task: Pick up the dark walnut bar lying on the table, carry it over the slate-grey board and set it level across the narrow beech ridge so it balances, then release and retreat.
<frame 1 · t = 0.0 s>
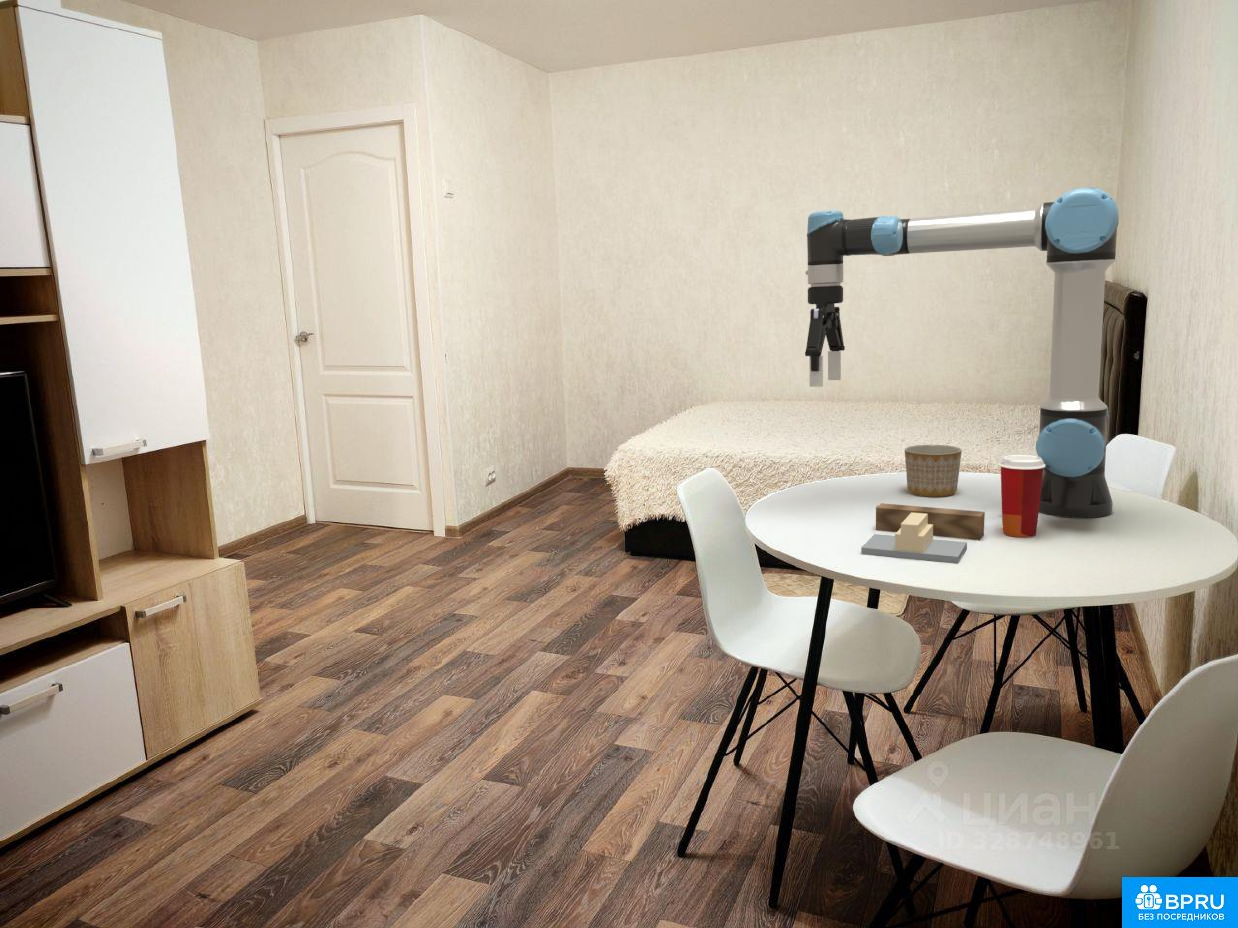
hand: (825, 383, 199), 28 cm above the table, fingers open, 13 cm apart
bar: (928, 533, 179), on the table
planter: (932, 493, 213), on the table
fulcrum: (914, 551, 167), on the table
coffee cup: (1018, 534, 176), on the table
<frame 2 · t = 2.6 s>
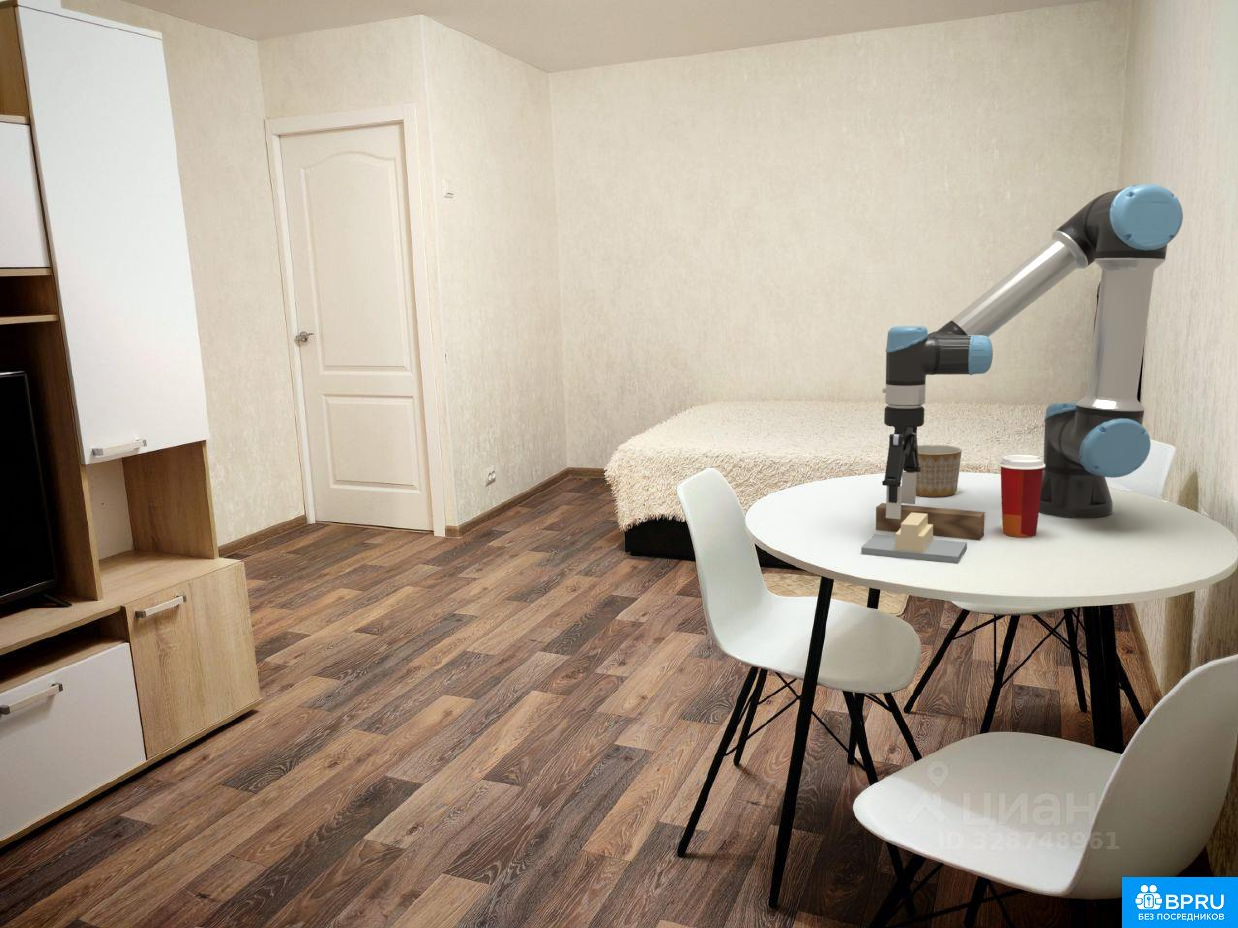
hand: (900, 510, 181), 4 cm above the table, fingers open, 13 cm apart
nothing on the table moved.
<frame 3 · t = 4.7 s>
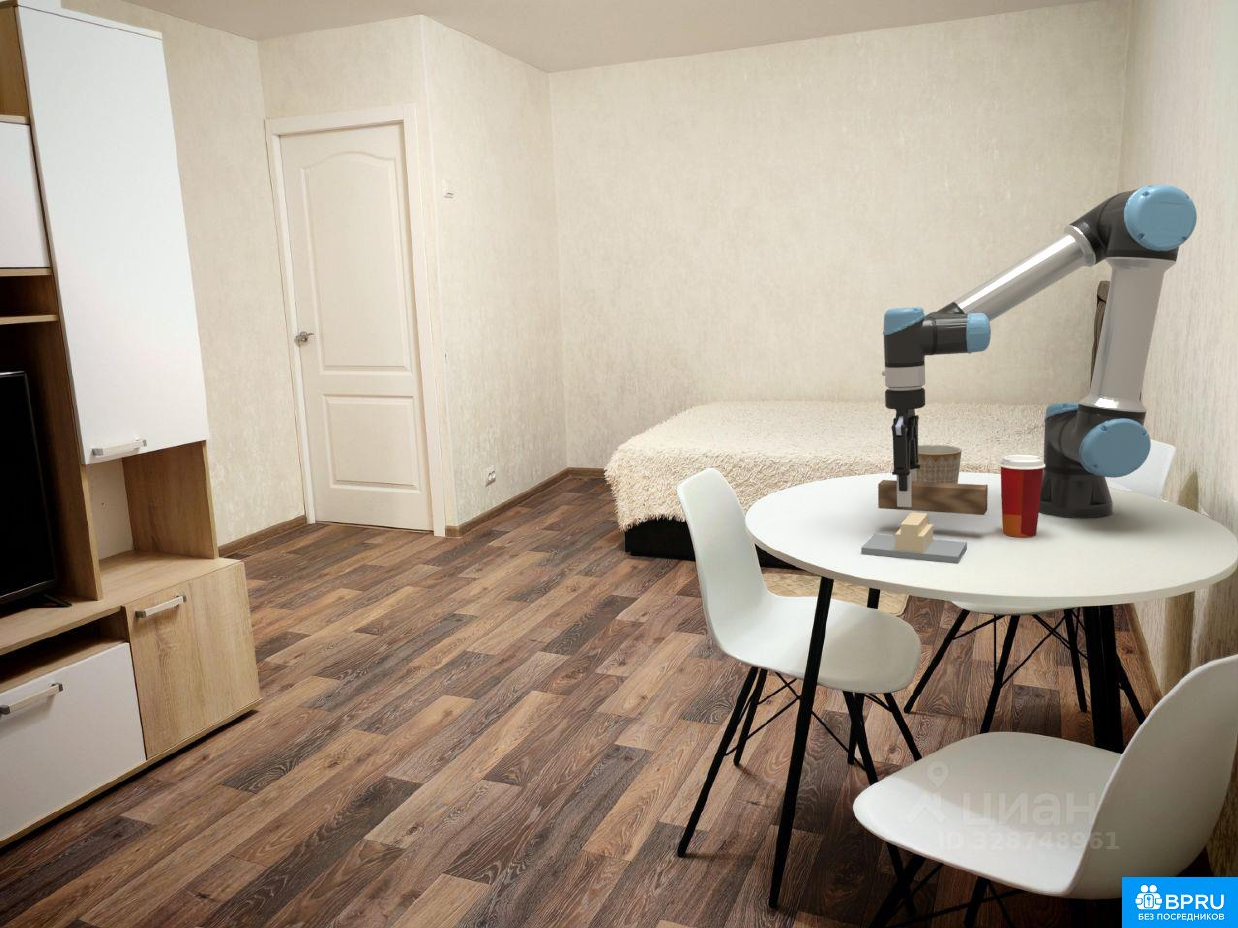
hand: (907, 503, 181), 6 cm above the table, fingers closed on bar, 4 cm apart
bar: (931, 509, 178), point 5 cm above the table, touching gripper
everything else where it was.
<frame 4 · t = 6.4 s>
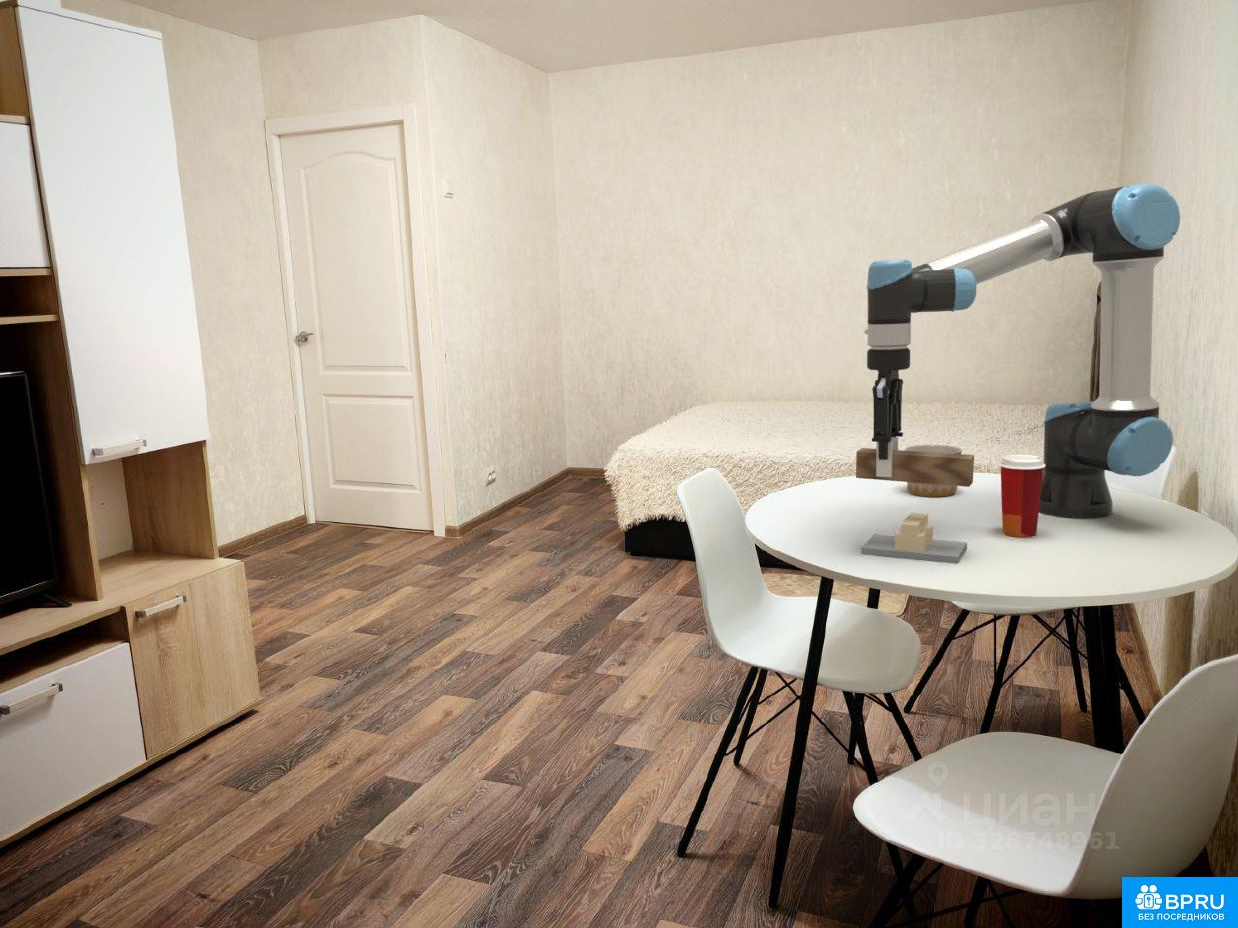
hand: (887, 473, 167), 14 cm above the table, fingers closed on bar, 4 cm apart
bar: (913, 480, 165), point 13 cm above the table, touching gripper
everything else where it was.
when the fingers open (5 cm above the table, at t = 8.3 s): bar stays where it is, resting on fulcrum.
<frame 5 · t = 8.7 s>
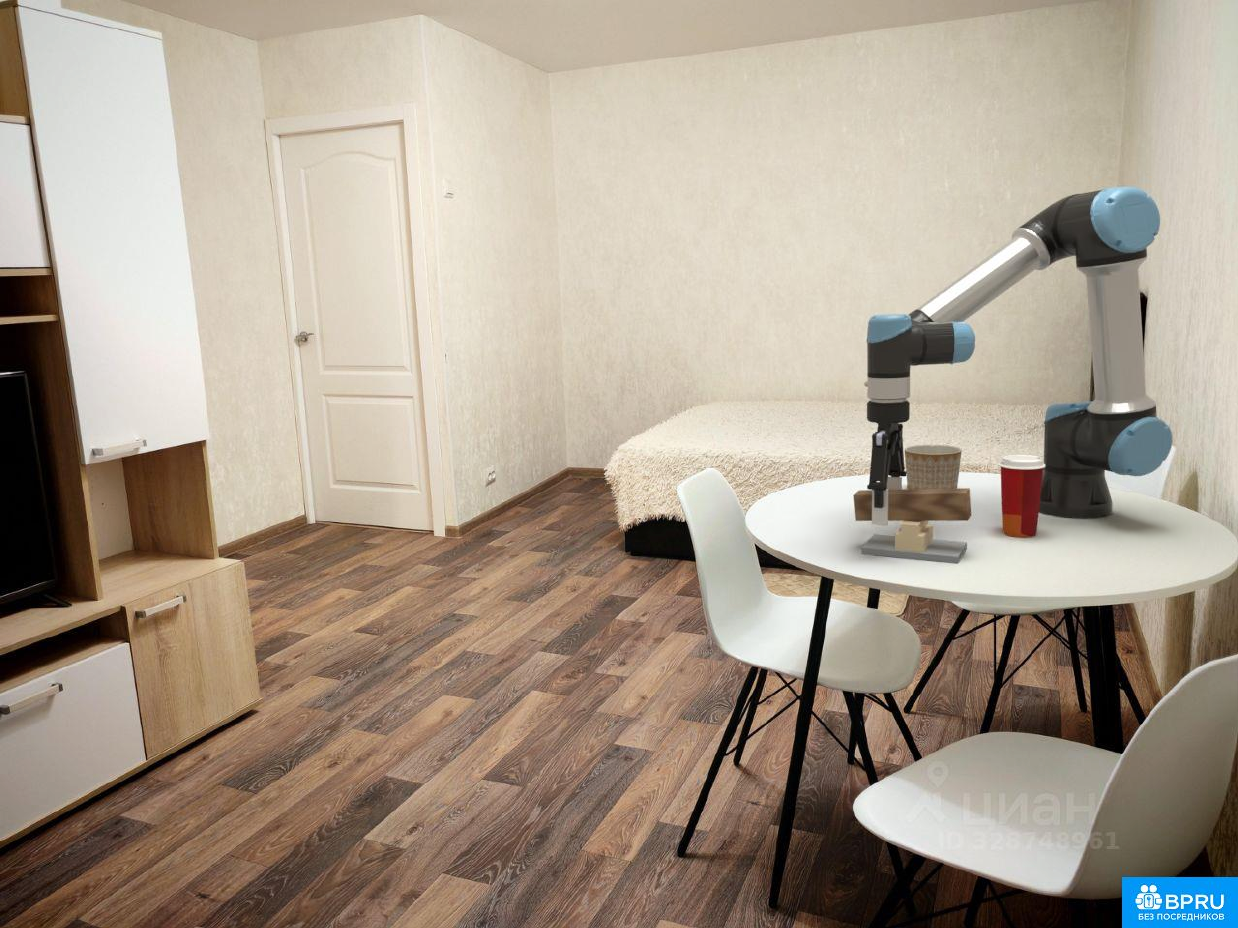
hand: (887, 517, 169), 6 cm above the table, fingers open, 10 cm apart
bar: (912, 518, 166), point 6 cm above the table, touching fulcrum
everything else where it was.
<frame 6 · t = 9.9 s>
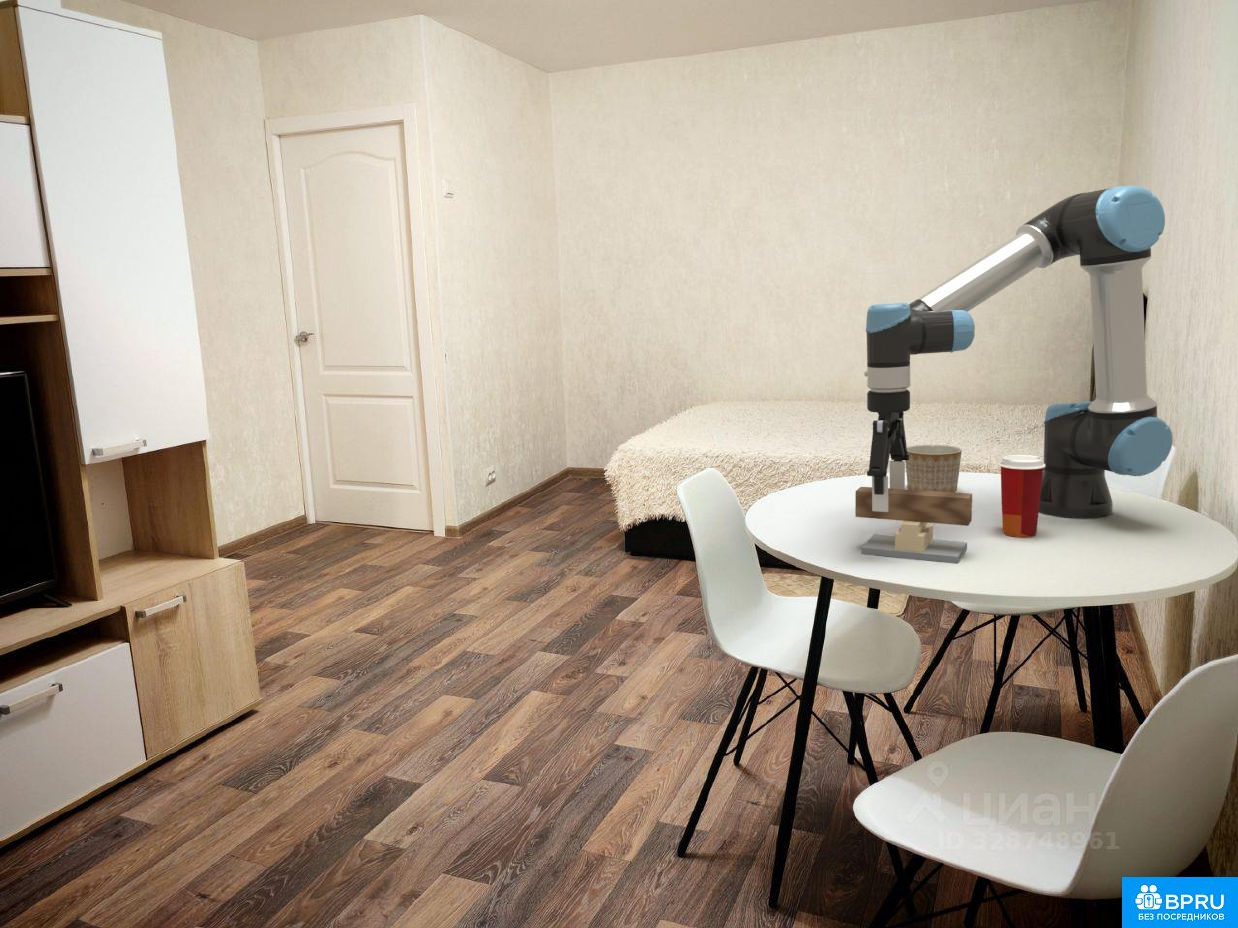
hand: (889, 502, 168), 9 cm above the table, fingers open, 13 cm apart
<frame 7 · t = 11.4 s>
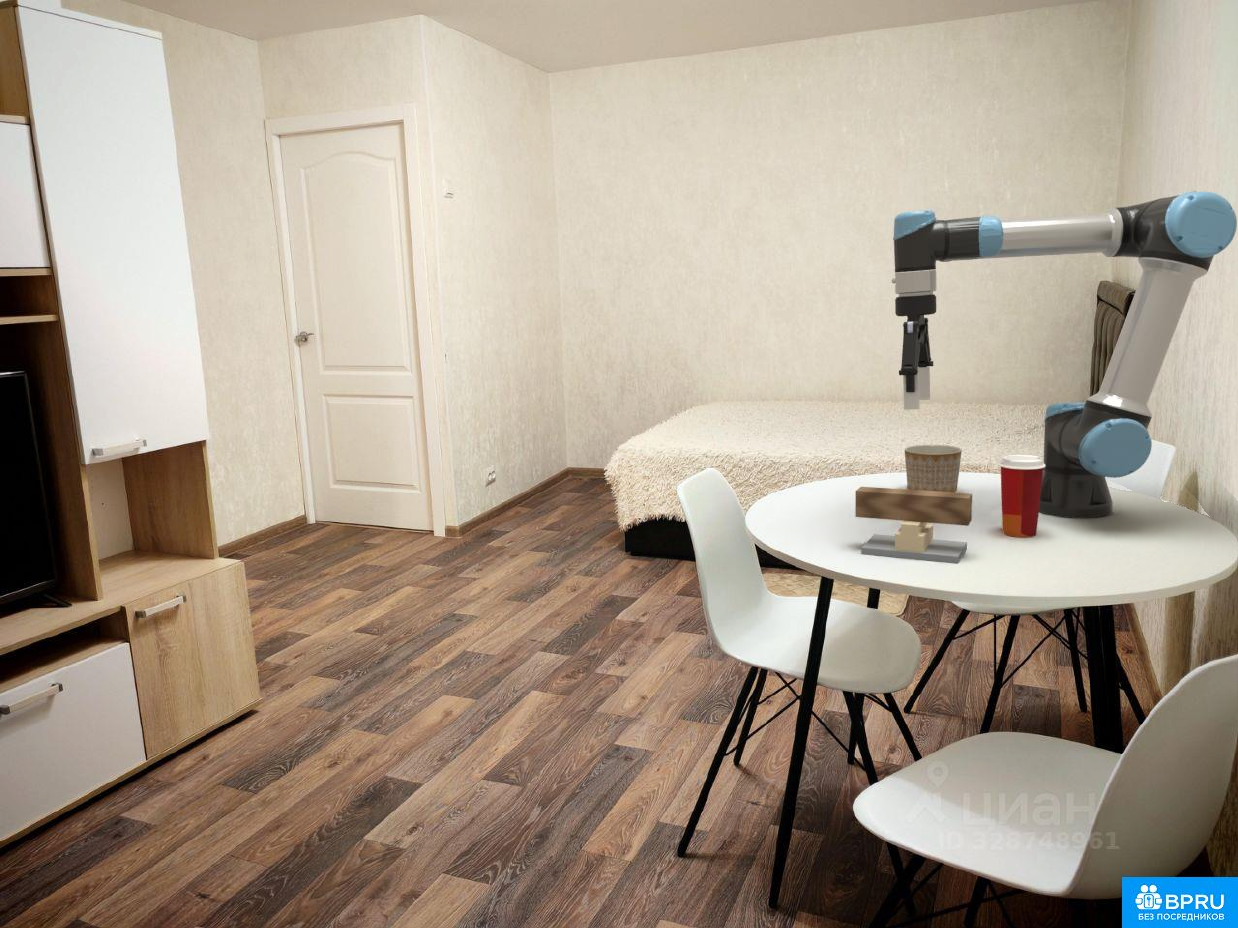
hand: (917, 404, 177), 25 cm above the table, fingers open, 13 cm apart
nothing on the table moved.
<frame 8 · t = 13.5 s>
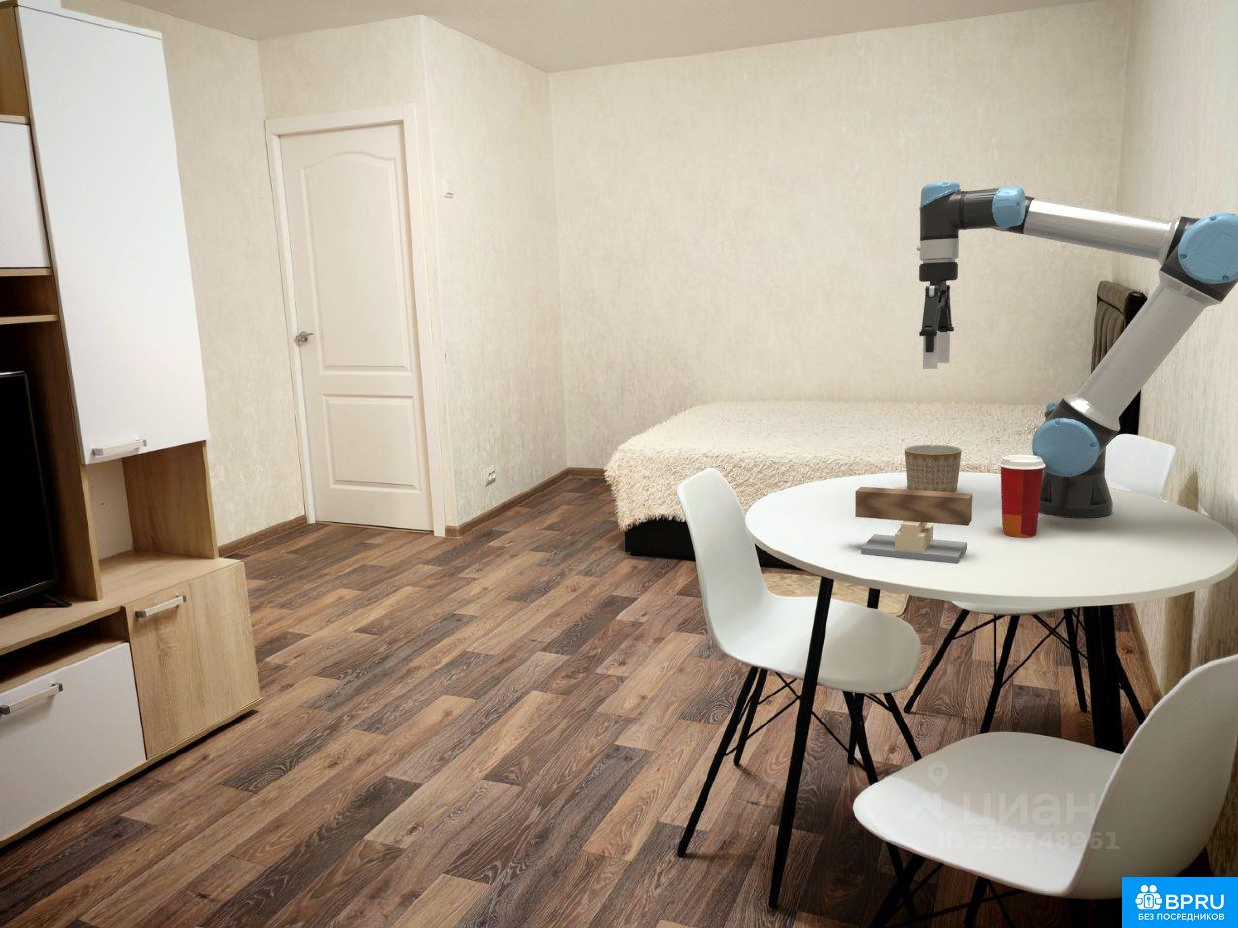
hand: (936, 365, 188), 32 cm above the table, fingers open, 13 cm apart
nothing on the table moved.
at the end: bar 0.4 cm off-centre on the fulcrum, point 6.2 cm above the fulcrum's base; bar tilted 0°; the gripper is holding nothing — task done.
